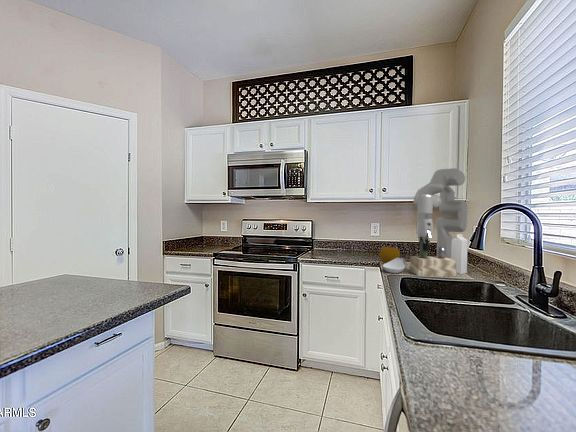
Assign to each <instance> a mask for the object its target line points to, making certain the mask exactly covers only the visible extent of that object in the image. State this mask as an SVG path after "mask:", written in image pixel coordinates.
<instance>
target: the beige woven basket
mask: <svg viewBox="0 0 576 432" xmlns="http://www.w3.org/2000/svg"><path fill="white" fill-rule="evenodd" d="M409 256H410V255H409ZM409 266H410V267H409V272H410V273H411V274H414V275H415V274H416V275H415V276H417V277H443V276H456V277H457V273H456V260H455V259H452V258H448V257H446V247H438V257H437V256H431V255H430V256H428V255H427V259H423V258H420V255H411V256H410V262H409Z"/></svg>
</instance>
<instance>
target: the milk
mask: <svg viewBox="0 0 576 432" xmlns="http://www.w3.org/2000/svg"><path fill="white" fill-rule="evenodd" d="M468 242H469V240H468V239H466V238H465V237H464V235H463V233H458V234H456V237H453V239H452V243H451V258H452V259H455V260H456V274H458V273H460V274H459V275H464V274H467V273H468V249H469V248H468V245H469V243H468Z"/></svg>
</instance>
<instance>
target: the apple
mask: <svg viewBox="0 0 576 432" xmlns="http://www.w3.org/2000/svg"><path fill="white" fill-rule="evenodd" d="M378 255H379V258H380V260H381V262H382V263H383V264H385V263H388V262H390V261H392V260H393V259H395V258H401V251H400V250H399V249H398V248H397V247H394V246H383V247H381V248H380V249H379V254H378Z"/></svg>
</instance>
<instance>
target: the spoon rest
mask: <svg viewBox="0 0 576 432" xmlns="http://www.w3.org/2000/svg"><path fill="white" fill-rule="evenodd" d="M382 268H383V269H384V271H386V273H390V274H400V273H401V272H403V271H404V269H407V268H408V266H407V262H406V259H405V258H404V257H399V258H395V259H393V260H392V261H390V262H388V263H385V264H384V263H383V264H382Z"/></svg>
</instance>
